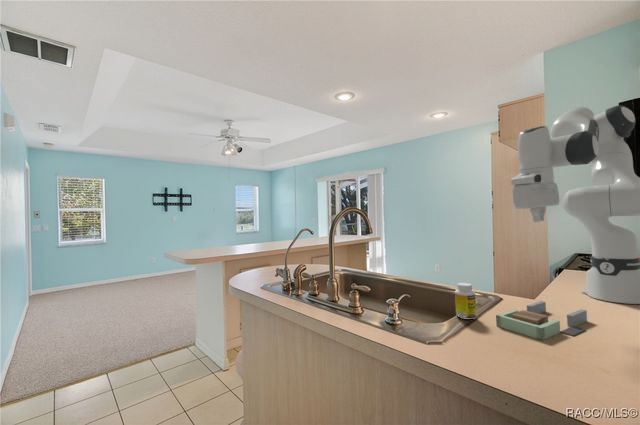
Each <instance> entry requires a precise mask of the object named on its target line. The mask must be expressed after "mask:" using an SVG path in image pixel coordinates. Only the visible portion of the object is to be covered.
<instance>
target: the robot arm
mask: <svg viewBox="0 0 640 425" xmlns="http://www.w3.org/2000/svg"><path fill="white" fill-rule="evenodd" d="M636 121H637V120H636V117H635V114H634V112H633V111H632V110H631V109H629V108H628V107H626V106H624V105H618V104H617V105H615V106H612V107H608V108H606V110H604V111H602V112H600V113H597V114H595V113H594V112H593V110H592V109H591V108H588V107H585V106H578V107H574V108H572V109H569V110H567V111H565V112H564V113H562V114H561V115H560V116H559V117H558V118H557V119H555V121H554V122H553V123H552V126H551V128H550V130H549V128H548V126H546V125H542V126H537V127H532V128H528V129H524V130H522V131H521V132H519V134H518V138H517V158H518V162H519V167H518V174H517V175H515V176H514V177H512V178H511V179H510V184H511V185H512V201H513V205H514V207H515V209H516V210H527V209H529V210H530V214H531V215H532V220H533V222H534V223H540V222H544V221H545V215H546V211H547V207H553V206H558V205H560V201H561V200H560V193H559V187H558V185H557V183H556V182H555V179H554V178H555V176H554V174H555V173H554V168H559V167H560V168H561V167H567V166H580V165H588V164H591V169H590V170H591V171H590V178H591V179H590V180H591V181H592V183H594V184H595V185H591V186H583V187H582V186H581V187H578V188H574V189H569V190H567V192H566V193H565V194H564V196H563V198H562V206H563V209H564V211H565V212H566V213H567V214H568V215H569V216H572V217H573V218H575V219H577V220H578V221H579V222H581V224H582V225H583V226H584V227H585V229H586V230H587V232H588V234H589V239H590V244H591V245H590V246H591V254H592V255H591V256H590V260H589V261H590V265H591V267H590V269H588V270H587V271H586V287H585V288H582V290H581V293H583V294H585V295H588V296H589V297H590V298H593V299H596V300H601V301H606V302H609V303H610V302H611V303H618V304H630V305H631V304H633V305H637V304H638V305H640V256H638V242H637V236H636V235H635V233H634V232H633V231H631V230H629V229H628V228H624V227H622V226H619V225H616V224H614V223H612V222H611V221H610V220H609V218H610V217H611V218H612V217H640V176H638V175H637V174H636V173H635V170H634V160H633V154H632V150H631V149H630V147H629V144H628V143H626V142H625V140H624V138H629V137H630V136H631V135H632V132H633V130H634V128H635V126H636Z"/></svg>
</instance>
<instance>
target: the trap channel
mask: <svg viewBox="0 0 640 425" xmlns="http://www.w3.org/2000/svg"><path fill="white" fill-rule="evenodd" d="M526 311H530V312H534V313H538V314H543V313H545V312H547V306H546V301H543V300H540V301H536V302H533V303H530V304H527V305H526ZM517 312H519V310H517V309H511V310H508V311H505V312H502V313H498V314H496V315H495V321H496V322H495V323H496V327H499V328H502V329H505V330H508V331H511V332H515V333H518V334H521V335H525V336H528V337H530V338H534V339H537V340H540V341H543V340H546V339H549V338H551V337H553V335H554V336H556V335H558V334H563V333H565V334H564V335H567V334H569V335H568V336H570V335H573V336H572V337H575V336H577V335H579V333H580V334H581V332H582V333H584V332H586V331H587V330H586V328H582V327H579V325H581V324H584V323H586V322H588V316H587V315H588V313H587V309H583V308H582V309H581V308H580V309H578V310H576V311H573V312H571V313H568V314H566V320H567V321H566V322H567V323H566V324H567V328H566V329H563V330H561V324H560V320H558V319H552V320H550V321H549V320H548V322H547V323H544V324H542V325H535V324H531V323H528V322H524V321H521V320H517V319H513V318H512V314H514V313H517ZM577 326H578V327H577ZM560 332H561V333H560ZM576 334H577V335H576ZM574 335H575V336H574Z"/></svg>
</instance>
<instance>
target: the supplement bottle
mask: <svg viewBox="0 0 640 425" xmlns="http://www.w3.org/2000/svg"><path fill="white" fill-rule="evenodd" d="M456 288H457V289H455V291H454V299H455V302H454V303H455V316H456V317H457V316H458V317H461V318H472V319H474V320H476V318H477V309H476V308H477V307H476V306H477V305H476V292H475V291H474V290H473V286H472V284H471V283H469V282H468V283H467V282H458V283H457V287H456ZM458 317H457V318H458Z"/></svg>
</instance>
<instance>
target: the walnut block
mask: <svg viewBox="0 0 640 425" xmlns="http://www.w3.org/2000/svg"><path fill="white" fill-rule="evenodd" d="M512 318H513V319H517V320H521V321H524V322H528V323H531V324H535V325H542V324H544V323H547V322H549V315H546V314H543V313H540V314H538V313H534V312H530V311H527V310H525V309H522V310H518V312H517V313H514V314H512Z"/></svg>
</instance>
